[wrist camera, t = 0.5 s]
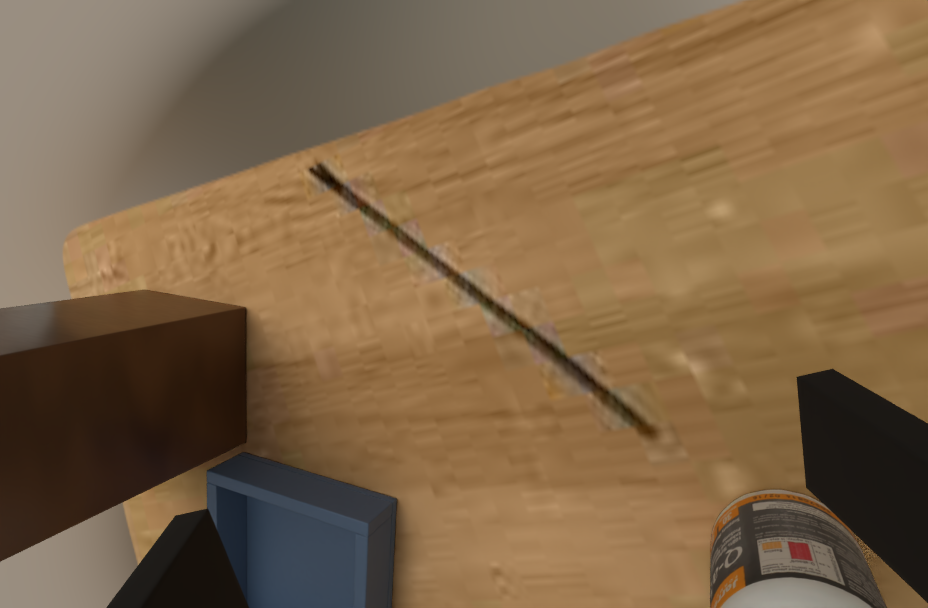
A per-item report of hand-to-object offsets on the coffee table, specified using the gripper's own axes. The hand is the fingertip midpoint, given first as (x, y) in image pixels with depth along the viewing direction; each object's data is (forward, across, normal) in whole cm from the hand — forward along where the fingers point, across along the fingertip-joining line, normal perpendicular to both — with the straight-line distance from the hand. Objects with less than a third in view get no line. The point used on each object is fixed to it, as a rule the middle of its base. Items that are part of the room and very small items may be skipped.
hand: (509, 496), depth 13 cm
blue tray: (+20, -14, -15) cm, 28 cm away
